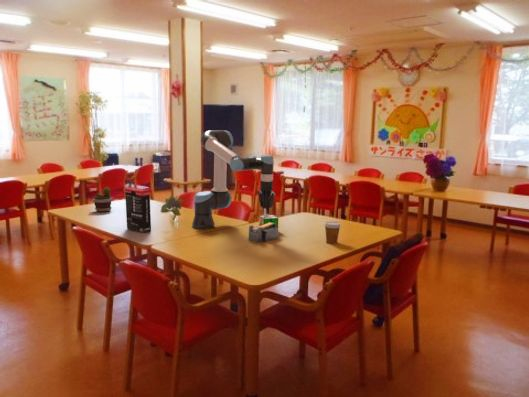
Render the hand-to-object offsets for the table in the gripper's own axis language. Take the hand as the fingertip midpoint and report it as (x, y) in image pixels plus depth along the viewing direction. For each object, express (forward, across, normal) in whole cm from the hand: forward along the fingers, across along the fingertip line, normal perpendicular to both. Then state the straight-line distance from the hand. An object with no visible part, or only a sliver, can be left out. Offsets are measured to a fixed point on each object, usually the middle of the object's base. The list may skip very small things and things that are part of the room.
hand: (265, 218), depth 280 cm
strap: (+5, 0, -3) cm, 6 cm away
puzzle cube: (+13, -8, +13) cm, 20 cm away
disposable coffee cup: (+12, +38, +17) cm, 43 cm away
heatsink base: (+12, 0, -2) cm, 12 cm away
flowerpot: (+14, -144, -21) cm, 146 cm away
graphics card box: (+13, -74, -40) cm, 85 cm away
